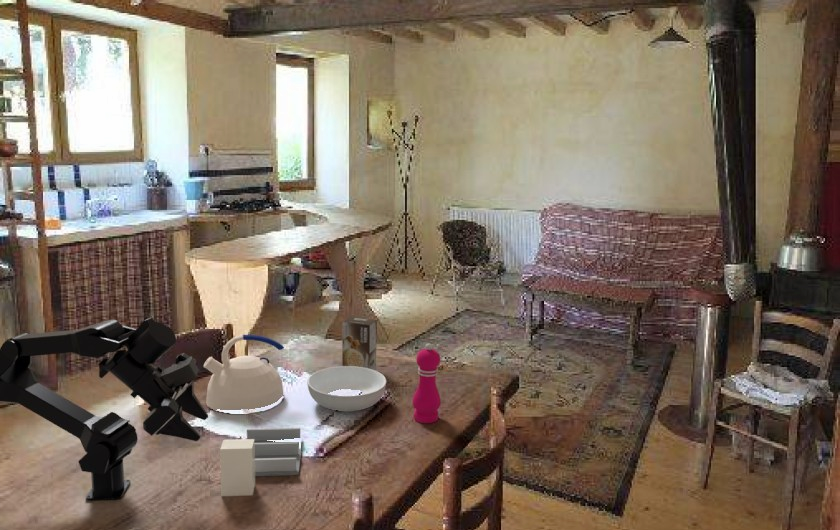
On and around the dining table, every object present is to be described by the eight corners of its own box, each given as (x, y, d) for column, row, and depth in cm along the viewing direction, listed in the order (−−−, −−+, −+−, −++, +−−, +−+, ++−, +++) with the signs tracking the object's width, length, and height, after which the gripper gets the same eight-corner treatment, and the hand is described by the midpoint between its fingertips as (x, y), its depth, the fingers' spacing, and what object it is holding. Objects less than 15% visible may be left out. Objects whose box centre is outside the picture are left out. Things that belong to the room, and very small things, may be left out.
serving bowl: (294, 414, 166) (294, 388, 165) (325, 385, 186) (325, 362, 185) (371, 425, 161) (372, 399, 160) (395, 394, 181) (395, 371, 180)
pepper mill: (406, 420, 165) (409, 344, 161) (420, 410, 171) (422, 337, 167) (432, 426, 162) (435, 350, 158) (444, 416, 168) (448, 342, 164)
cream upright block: (252, 495, 128) (251, 448, 127) (221, 496, 128) (220, 449, 126) (255, 484, 132) (254, 439, 130) (224, 485, 132) (223, 439, 130)
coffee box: (377, 370, 199) (378, 319, 196) (369, 377, 193) (370, 325, 190) (349, 366, 202) (350, 316, 199) (341, 372, 196) (341, 321, 193)
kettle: (202, 389, 180) (200, 326, 176) (278, 382, 187) (278, 321, 184) (206, 419, 161) (204, 350, 158) (290, 410, 169) (290, 343, 165)
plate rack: (298, 474, 137) (298, 459, 136) (234, 476, 135) (234, 461, 134) (302, 441, 152) (302, 427, 151) (245, 442, 150) (245, 428, 149)
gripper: (159, 363, 113) (226, 420, 117) (180, 331, 131) (238, 382, 135) (113, 407, 114) (182, 462, 117) (141, 369, 132) (199, 418, 135)
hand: (202, 428), depth 126 cm, fingers open, 9 cm apart
